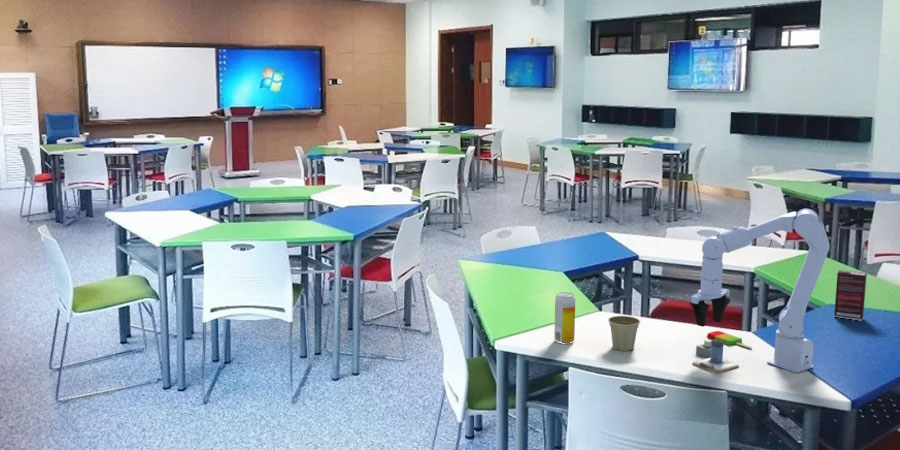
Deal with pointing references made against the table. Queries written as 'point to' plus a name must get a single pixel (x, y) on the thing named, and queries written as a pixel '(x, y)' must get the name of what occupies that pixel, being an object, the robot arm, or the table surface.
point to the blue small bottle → (716, 351)
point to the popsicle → (726, 338)
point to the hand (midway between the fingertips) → (708, 323)
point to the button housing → (703, 351)
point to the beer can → (564, 317)
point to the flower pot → (623, 332)
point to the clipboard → (715, 365)
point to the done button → (707, 344)
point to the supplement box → (850, 295)
